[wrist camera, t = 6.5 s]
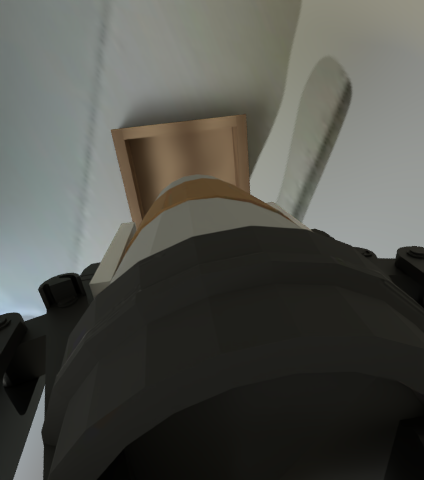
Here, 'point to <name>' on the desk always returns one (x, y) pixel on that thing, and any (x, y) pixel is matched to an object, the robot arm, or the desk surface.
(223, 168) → the tray
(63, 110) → the desk surface
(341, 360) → the coffee cup
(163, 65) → the desk surface
